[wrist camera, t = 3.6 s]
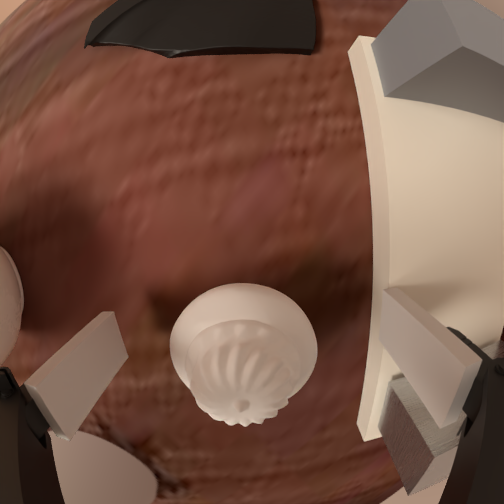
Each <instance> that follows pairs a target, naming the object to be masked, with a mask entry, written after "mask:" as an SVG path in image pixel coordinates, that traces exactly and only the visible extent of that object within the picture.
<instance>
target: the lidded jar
mask: <svg viewBox="0 0 504 504" xmlns="http://www.w3.org/2000/svg"><path fill="white" fill-rule="evenodd" d="M23 308H24V293H23V287H22V282H21V278H20V275H19V272H18V270H17V267H16V265H15V263H14V261H13V259H12V258H11V256H10V255H9V253H8V252H7V251H6V250H5V249H4V248H3V247H1V246H0V366H1V365H2V364H3V363H4V362H5V360H6V359H7V357H8V356H9V354H10V353H11V351H12V350H13V348H14V345H15V343H16V341H17V338H18V335H19V331H20V326H21V315H22V312H23Z"/></svg>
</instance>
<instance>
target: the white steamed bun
mask: <svg viewBox="0 0 504 504" xmlns="http://www.w3.org/2000/svg"><path fill="white" fill-rule="evenodd" d="M170 353H171V358H172V362H173V365H174V367H175V370H176V372H177V374H178V375H179V377H180V378H181V380H182V381H183V382H184V384H185V385H186V386H187V387H188V388H189V389H191V392H192V394H193V396H194V397H195V398H196V402H197V404H198V406H199V407H200V408H201V409H202V410H203V411H205V412H207V413H208V414H209V415H210V416H211V417H212V418H213V419H215V420H218V421H225V423H227V424H228V425H234V424H237V423H240V424H241V425H243V426H248V425H249V424H250V423H252V422H254V423H257V424H261V423H263V421H264V419H265V418H273V417H275V416H276V415H277V413H278V409H281V408H283V407H285V406H286V405H287V404H288V398H290V397H291V396H293V395H294V394H295V393H297V392H298V391H299V390H300V389H301V388H302V387H303V385H304V384H305V383H306V382H307V380H308V379H309V377H310V375H311V373H312V371H313V369H314V366H315V363H316V359H317V341H316V337H315V333H314V330H313V328H312V325H311V323H310V321H309V320H308V318H307V316H306V315H305V313H304V312H303V311H302V309H301V308H300V307H299V306H298V305H297V304H296V303H295V302H294V301H293V300H292V299H290V298H289V297H288V296H286V295H284V294H283V293H281V292H279V291H277V290H275V289H272V288H270V287H266V286H262V285H258V284H250V283H233V284H226V285H222V286H218V287H215V288H213V289H210V290H208V291H206V292H204V293H203V294H201V295H200V296H198V297H197V298H196V299H194V300H193V301H192V302H191V303H190V304H189V305H188V306H187V307H186V308H185V309H184V310H183V312H182V313H181V315H180V316H179V318H178V319H177V321H176V323H175V325H174V327H173V330H172V333H171V337H170Z"/></svg>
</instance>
